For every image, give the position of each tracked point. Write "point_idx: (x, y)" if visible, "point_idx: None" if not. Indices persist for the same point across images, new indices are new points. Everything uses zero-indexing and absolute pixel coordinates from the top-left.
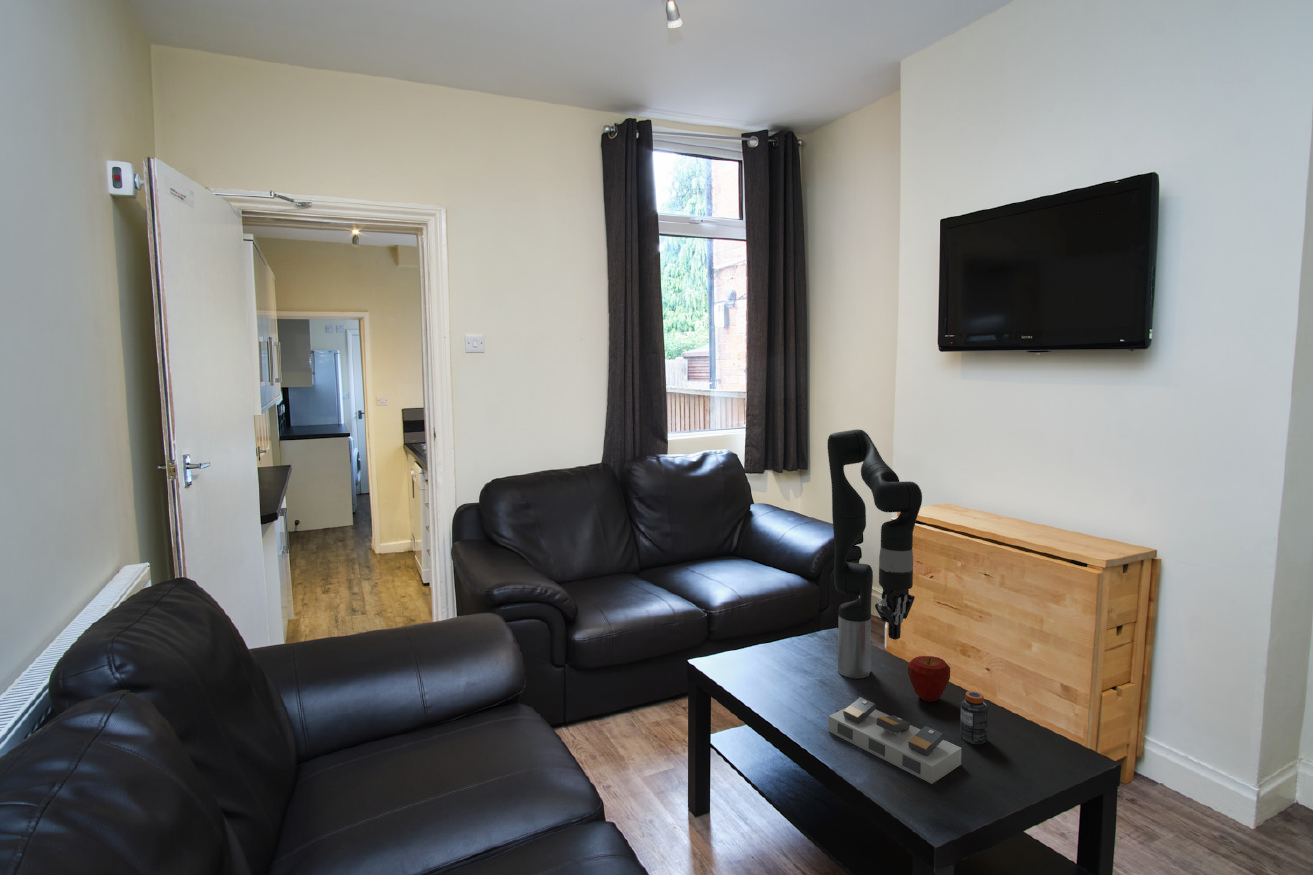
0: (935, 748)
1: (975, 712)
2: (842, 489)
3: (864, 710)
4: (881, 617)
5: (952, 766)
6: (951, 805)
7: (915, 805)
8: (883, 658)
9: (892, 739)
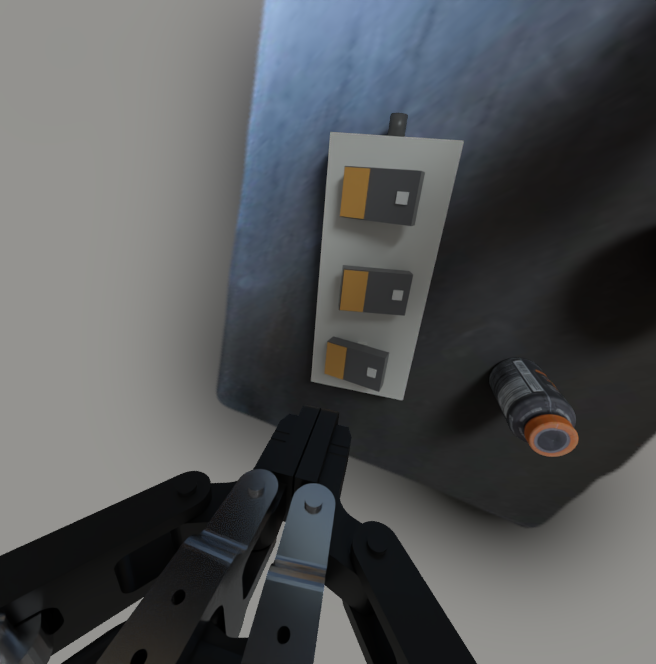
0: None
1: (508, 425)
2: None
3: (372, 215)
4: (130, 503)
5: None
6: (292, 397)
7: (257, 365)
8: None
9: None
